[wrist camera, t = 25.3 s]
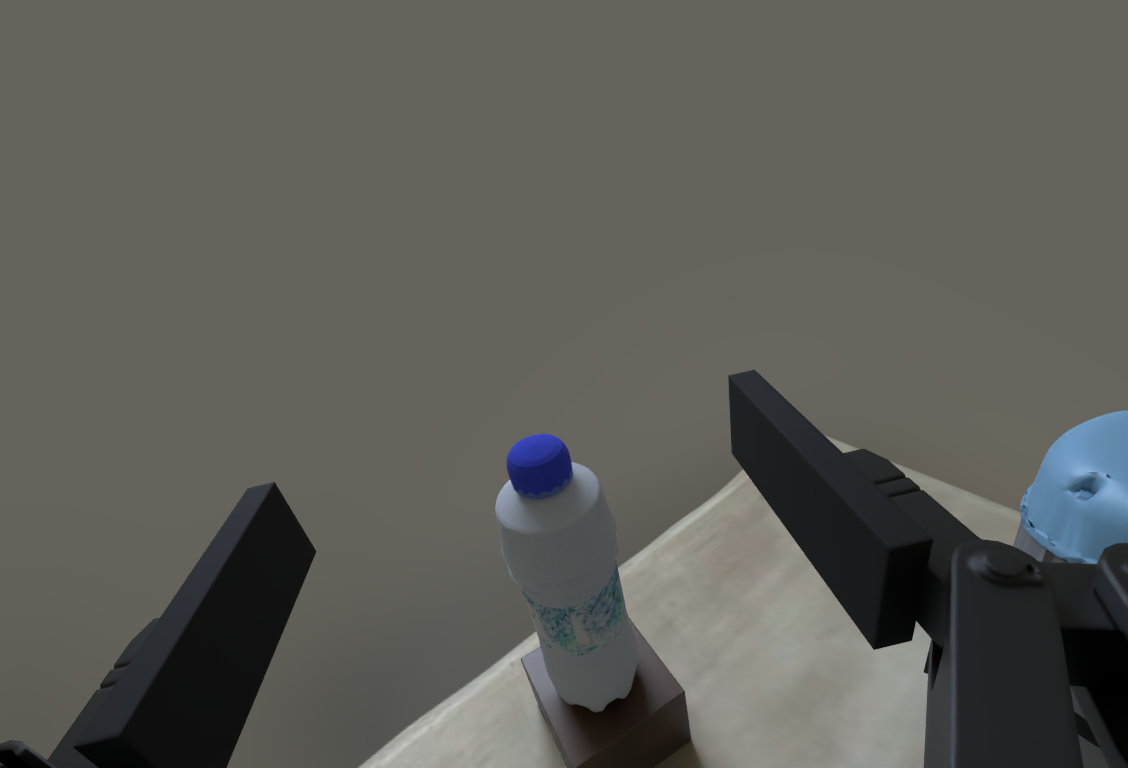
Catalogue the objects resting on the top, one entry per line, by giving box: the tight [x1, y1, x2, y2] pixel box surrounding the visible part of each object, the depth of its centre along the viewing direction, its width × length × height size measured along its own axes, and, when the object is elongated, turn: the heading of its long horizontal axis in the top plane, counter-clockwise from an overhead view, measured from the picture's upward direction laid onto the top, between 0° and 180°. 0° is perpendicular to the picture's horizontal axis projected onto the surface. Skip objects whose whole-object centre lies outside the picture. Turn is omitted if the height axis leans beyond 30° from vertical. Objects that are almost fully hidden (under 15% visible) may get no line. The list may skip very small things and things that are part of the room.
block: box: [521, 619, 691, 768], centre depth 37 cm, size 8×8×6 cm
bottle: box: [495, 434, 638, 712], centre depth 31 cm, size 7×7×20 cm
